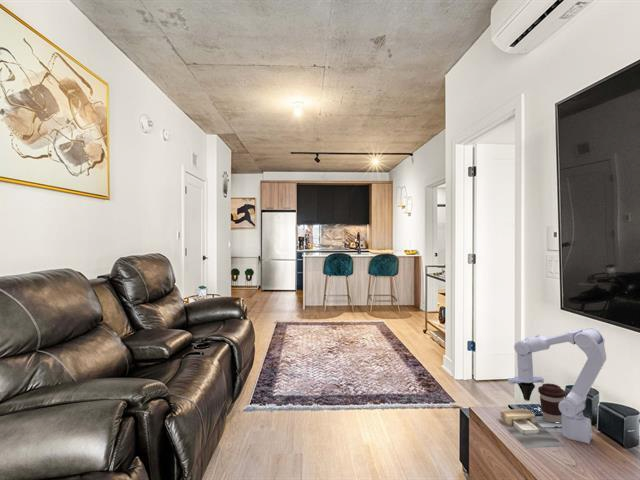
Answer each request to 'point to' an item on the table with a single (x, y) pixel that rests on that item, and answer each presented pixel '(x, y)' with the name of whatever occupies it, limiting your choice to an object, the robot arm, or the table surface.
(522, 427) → the tray shell
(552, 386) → the coffee cup
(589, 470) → the table surface
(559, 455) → the table surface
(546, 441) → the overhang board
